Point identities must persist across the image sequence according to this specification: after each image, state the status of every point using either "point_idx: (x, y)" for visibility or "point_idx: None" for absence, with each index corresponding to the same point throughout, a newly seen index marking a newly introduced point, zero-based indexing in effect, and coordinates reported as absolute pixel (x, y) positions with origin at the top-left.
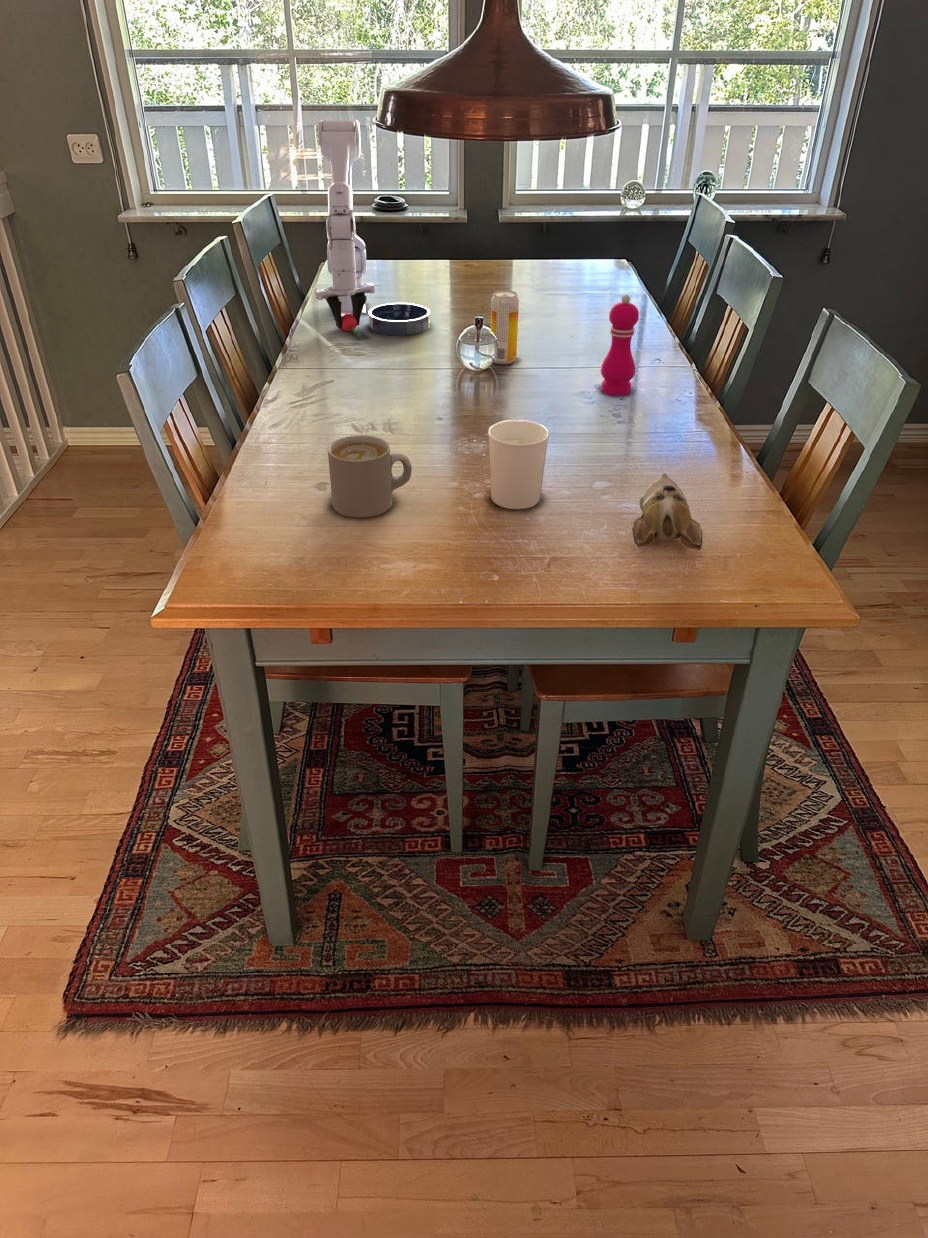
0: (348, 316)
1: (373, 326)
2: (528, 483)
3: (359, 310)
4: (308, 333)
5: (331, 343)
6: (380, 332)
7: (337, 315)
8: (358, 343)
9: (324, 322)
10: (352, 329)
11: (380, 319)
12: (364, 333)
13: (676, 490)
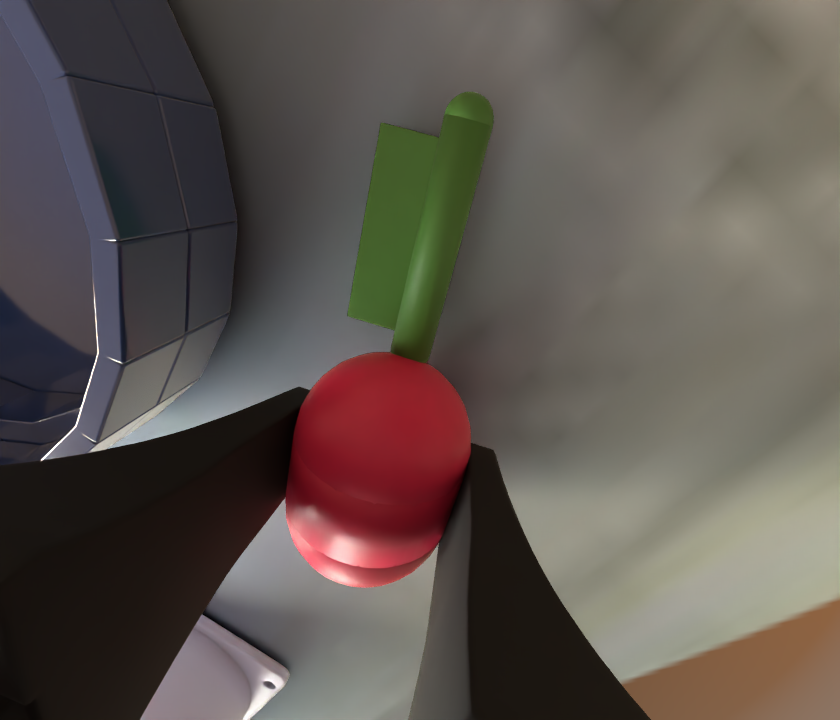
0: (376, 468)
1: (203, 214)
2: None
3: (193, 449)
4: (690, 590)
5: (803, 245)
6: (198, 84)
7: (527, 543)
8: (572, 9)
9: (422, 643)
10: (441, 302)
11: (44, 38)
12: (319, 274)
13: None
